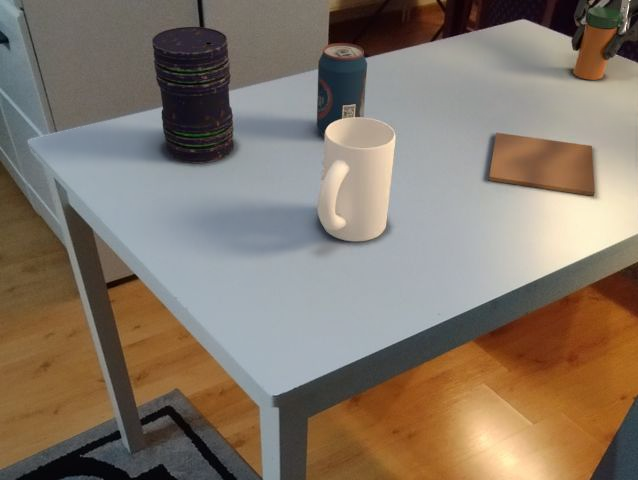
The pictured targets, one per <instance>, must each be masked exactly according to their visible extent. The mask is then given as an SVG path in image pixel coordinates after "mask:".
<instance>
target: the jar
mask: <svg viewBox="0 0 638 480" xmlns="http://www.w3.org/2000/svg"><path fill="white" fill-rule="evenodd" d="M617 31H618V27H616V28H599V27H594V26H591V25H589V24H587V23H586V26H585V29H584V33H583V37H582V40H581V44H580V48H579V50H578V51H577V55H576V56H577V57H576V59H575V64H574V66H573V71H572V74H573V75H574V76H575V77H578V78H579V79H584V80H593V81H594V80H601V79H602V78H603V77H604V74H605V72H606V71H605V70H606V68H607V65H608V61H609V60H605V59H604V58H603V52H604V50H605V49H606V47H607V45H608V44H609V42H610V40H611V39H612V37H613V35H614V34H617Z"/></svg>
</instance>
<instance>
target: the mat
mask: <svg viewBox="0 0 638 480" xmlns="http://www.w3.org/2000/svg"><path fill="white" fill-rule="evenodd" d="M494 137H495V138H494V145H493V150H492V154H491V155H492V156H491V162H490V168H489V174H488V178H487V179H488V181H490V182H491V181H492V182H499V183H505V184H511V185H512V184H513V185H518V186H523V187H531V188H536V189H537V188H538V189H545V190H550V191H557V192H563V193H564V192H565V193H571V194H577V195H583V196H591V197H594V196H595V194H596V188H595V173H594V172H595V171H594V156H593V145H588V144H581V143H573V142H567V141H559V140H554V139H553V140H552V139H545V138H539V137H532V136H531V137H530V136H525V135H524V136H523V135H517V134H509V133H508V134H507V133H502V132H496V133H495V136H494Z"/></svg>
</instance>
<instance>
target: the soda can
mask: <svg viewBox="0 0 638 480" xmlns="http://www.w3.org/2000/svg"><path fill="white" fill-rule="evenodd" d="M317 63H318V68H317V97H316V98H317V99H316V127H317V128H318V130H319V131H320V133H321V135H322V136H324V137H325V130H326V129H327V127H328V126H329V125H330V124H331V123H333V122H335V121H337V120H340V119H344V118H353V117H361V118H365V117H364V114H365V102H366V101H365V100H366V89H367V88H366V87H367V73H368V62H367V59H366V57H365V50H364V49H363V47H361V46H359V45H356V44H353V43H346V42H339V43H338V42H337V43H331V44H327V45H326V46H324V47H323V49H322V54H321V55H320V57H319V59H318V61H317Z"/></svg>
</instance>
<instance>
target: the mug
mask: <svg viewBox="0 0 638 480" xmlns="http://www.w3.org/2000/svg"><path fill="white" fill-rule="evenodd" d="M395 146H396V133H395V130H394V129H393V127H391V126H390V125H389V124H387V123H385V122H383V121H381V120H378V119H375V118H371V117H363V118H361V117H353V118H344V119H340V120H337V121H335V122H333V123H331V124H330V125H329V126H328V127H327V129H326V130H325V136H324V144H323V158H322V160H321V164H322V165H323V169H322V170H321V175H320V180H322V183H321V185H320V189H319V192H318V197H317V215H318V218H319V221H320V223H321V225H322V227H323V228H324V230H325V232H327V234H329V235H331V236H332V237H334V238H336V239H339V240H343V241H347V242H365V241H370V240H374V239H375V238H377V237H379V236H380V235H382V234H383V232H384V231H385V230H386V227H387V222H388V221H387V220H388V212H389V210H388V209H389V203H390V202H389V201H390V193H391V185H392V184H391V183H392V175H393V166H394V158H395V157H394V156H395Z"/></svg>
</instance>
